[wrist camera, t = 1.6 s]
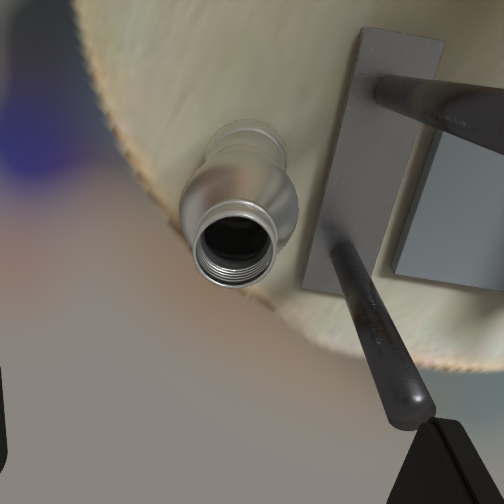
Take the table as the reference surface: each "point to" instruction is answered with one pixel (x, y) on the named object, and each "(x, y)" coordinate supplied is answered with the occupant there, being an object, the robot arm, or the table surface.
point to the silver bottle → (239, 205)
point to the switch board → (456, 217)
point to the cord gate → (387, 191)
